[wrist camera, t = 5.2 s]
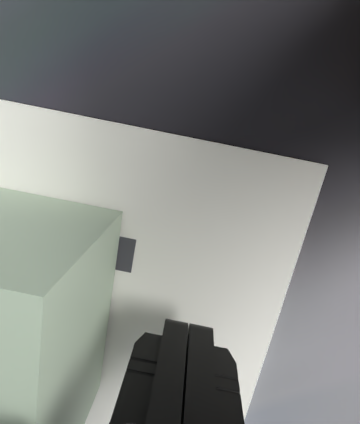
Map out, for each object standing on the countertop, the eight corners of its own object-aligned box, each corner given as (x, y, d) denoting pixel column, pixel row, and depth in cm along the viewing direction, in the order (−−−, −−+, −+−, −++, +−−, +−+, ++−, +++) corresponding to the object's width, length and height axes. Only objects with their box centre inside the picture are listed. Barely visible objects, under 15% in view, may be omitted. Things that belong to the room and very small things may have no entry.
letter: (-191, 60, 10) (-205, 58, 9) (324, 164, 9) (328, 165, 9) (-148, 372, 13) (-156, 378, 13) (231, 451, 13) (231, 459, 13)
